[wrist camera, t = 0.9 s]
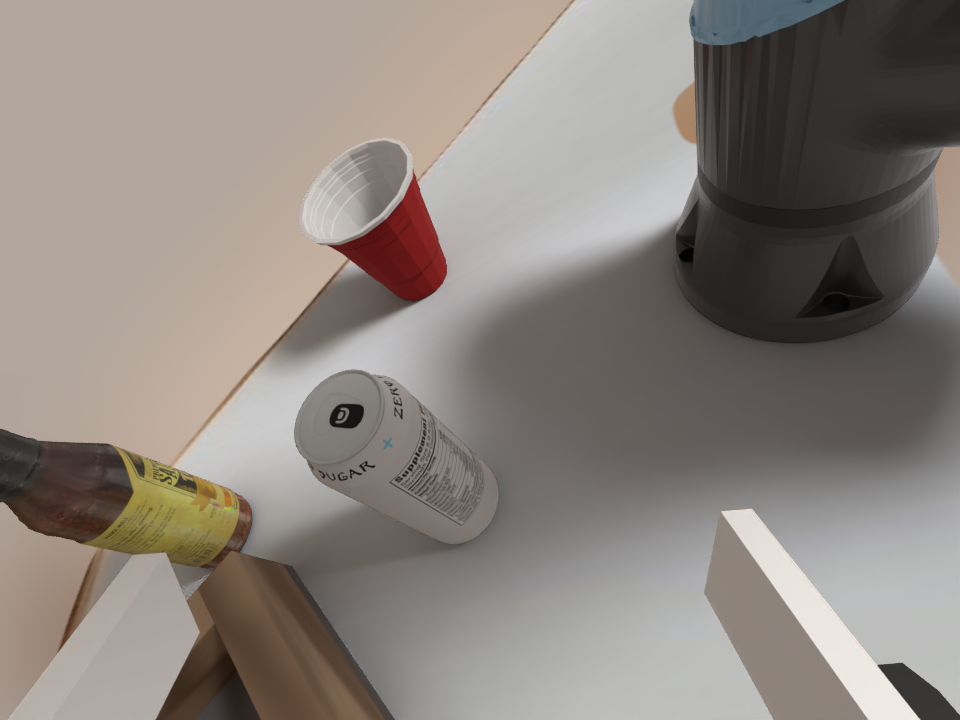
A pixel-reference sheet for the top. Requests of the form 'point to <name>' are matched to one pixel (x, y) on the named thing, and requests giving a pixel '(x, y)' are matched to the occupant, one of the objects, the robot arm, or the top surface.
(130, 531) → the sauce bottle
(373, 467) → the energy drink can
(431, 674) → the top surface
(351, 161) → the plastic cup
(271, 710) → the well block
